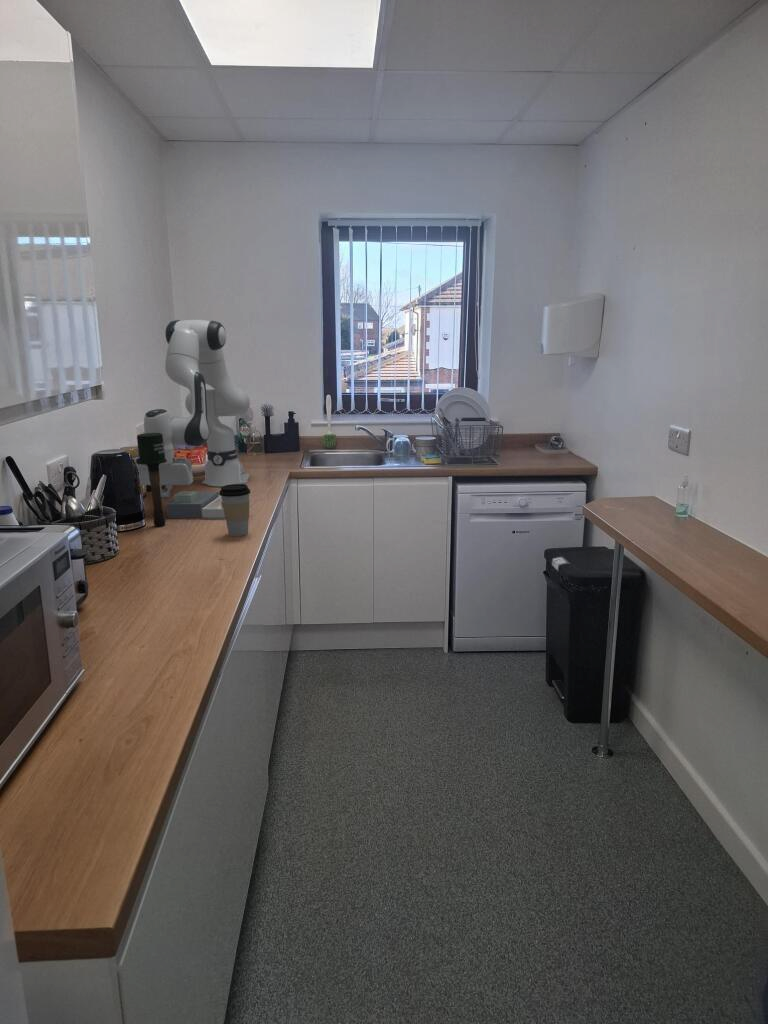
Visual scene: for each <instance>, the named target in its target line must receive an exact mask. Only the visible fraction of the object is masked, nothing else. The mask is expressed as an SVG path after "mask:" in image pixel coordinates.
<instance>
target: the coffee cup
mask: <svg viewBox="0 0 768 1024" xmlns="http://www.w3.org/2000/svg"><path fill="white" fill-rule="evenodd" d="M250 494H251V489H250V488H249V487H248V484H246V483H244V484H230V485H225V486H220V490H219V491H218V496H220V495H221V497H222V505H223V510H224V515H225V519H224V521H225V523H226V528H227V532H228V536H232V537H242V536H246V535H248V534H249V519H250Z"/></svg>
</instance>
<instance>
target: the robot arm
mask: <svg viewBox="0 0 768 1024" xmlns="http://www.w3.org/2000/svg"><path fill="white" fill-rule="evenodd" d="M165 340H166V342H167V344H168V346H167V350H166V356H165V363H164V364H165V365H164V366H165V367H164V368H165V373H166V375H167V376H168V378H169V379H170V380H172V382H174V383H176V385H177V384H178V385H180V386H182V387H184V388H186V389H188V390H189V392H188V394H187V395H186V397H185V403H184V404H185V408H186V410H187V412H188V413H189V414H190V416H189V417H188V416H187V417H185V416H183V417H182V416H181V417H179V416H173V415H171V414H169V412H168V410H167V409H163V408H156V409H152V410H148V411H147V412H146V413H145V414H144V417H143V430H144V431H143V434H144V433H161V434H162V435H163V443H164V452H165V459H166V460H167V462H165V463H161V464H159V476H160V492H161V499H165V498H166V499H169V498H170V497H171V491H172V490H173V486H189V485H191V484H192V483H193V482H194V474H193V471H192V469H193V468H192V467H193V466H192V461H191V460H190V459H188V458H186V457H175V448H174V445H176V446H190V447H197V448H198V447H201V446H202V445H203V444H205V443H206V442H207V443H206V444H207V450H206V452H207V453H206V455H207V461H206V463H205V464H204V473H205V475H204V477H205V478H204V480H202V484H203V485H207V486H209V487H222V486H225V485H230V484H247V483H248V481H249V479H250V475H249V474H247V473H245V471H244V464H243V463H242V461H240V459H239V458H238V453H239V449H238V448H237V447H236V443H235V440H236V439H235V432H234V430H233V429H232V427H230V426H228V425H226V424H224V423H222V422H221V421H220V419H219V417H237V416H241V415H244V414H247V412H248V410H249V409H250V397H249V395H248V394H247V392H246V391H245V390H243V389H241V388H240V387H238V386H237V385H236V384H235V383H234V382H233V381H232V379H231V378H230V376H229V373H228V369H227V366H226V361H225V355H224V351H223V350H224V349H223V347H224V346H225V344H226V341H227V334H226V329H225V326H224V325H223V324H222V323H221V322H220V321H216V320H205V319H186V320H185V319H184V320H180V319H175V320H171V321H170V322H169V323H167V326H166V328H165ZM207 385H208V386H210V387H211V389H207V387H206V386H207ZM133 460H134V461H135V463H136V466H137V468H138V472H139V479H140V485H139V486H151V483H150V480H149V471H148V466H147V465H142V464H139V461H140V460H139V456H137V457H135V458H133ZM163 486H166V487H165V488H166V489H167V490H166V491H164V490H163V488H162V487H163Z"/></svg>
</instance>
